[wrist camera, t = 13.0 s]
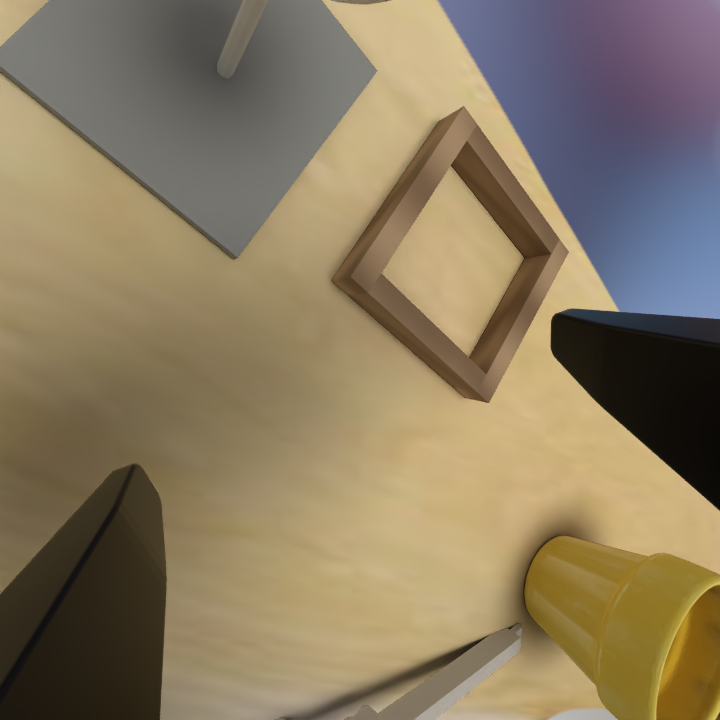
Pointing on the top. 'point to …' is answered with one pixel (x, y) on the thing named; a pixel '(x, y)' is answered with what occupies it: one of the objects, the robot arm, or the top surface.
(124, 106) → the mat
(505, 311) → the brown wooden square frame
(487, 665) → the caliper
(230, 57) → the lollipop
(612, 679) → the plant pot
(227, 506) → the top surface
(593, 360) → the robot arm
